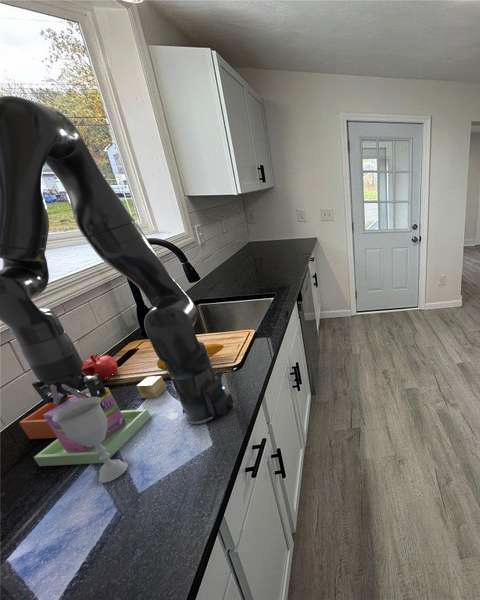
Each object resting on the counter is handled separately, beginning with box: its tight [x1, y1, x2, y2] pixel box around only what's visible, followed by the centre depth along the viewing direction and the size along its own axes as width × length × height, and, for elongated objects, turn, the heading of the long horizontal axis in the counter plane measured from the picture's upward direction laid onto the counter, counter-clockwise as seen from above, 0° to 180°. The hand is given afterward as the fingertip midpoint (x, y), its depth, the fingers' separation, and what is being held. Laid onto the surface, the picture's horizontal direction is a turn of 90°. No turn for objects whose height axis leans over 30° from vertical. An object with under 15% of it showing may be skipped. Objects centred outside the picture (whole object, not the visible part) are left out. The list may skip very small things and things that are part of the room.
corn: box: [156, 343, 224, 371], centre depth 109 cm, size 7×8×20 cm
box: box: [43, 386, 126, 453], centre depth 77 cm, size 10×6×12 cm, turn 169°
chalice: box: [52, 397, 129, 484], centre depth 67 cm, size 7×7×18 cm
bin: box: [18, 394, 74, 440], centre depth 84 cm, size 10×10×6 cm
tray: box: [33, 408, 152, 467], centre depth 79 cm, size 16×15×3 cm
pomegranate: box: [82, 352, 119, 382], centre depth 104 cm, size 10×10×9 cm
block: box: [136, 375, 167, 399], centre depth 95 cm, size 4×4×4 cm
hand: (85, 413), depth 76 cm, fingers closed on box, 6 cm apart
